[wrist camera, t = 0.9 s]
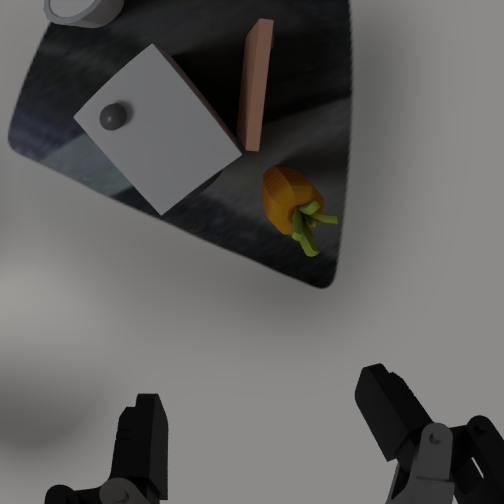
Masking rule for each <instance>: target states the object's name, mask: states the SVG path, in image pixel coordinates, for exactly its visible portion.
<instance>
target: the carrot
mask: <svg viewBox="0 0 504 504" xmlns="http://www.w3.org/2000/svg"><path fill="white" fill-rule="evenodd" d="M262 202H263V206H264V209H265V212H266V215H267V218H268V219H269V220H270V221H271V222H272V223H273V224H274V225H275V226H276V227H277V228H278V229H279V230H280V231H281V232H282V233H283V234H284V235H285V234H292V238H293V239H294V240H298V241H300V243H301V245H302V247H303V249H304V251H305V253H306V255H308V256H310V257H311V256H315V255H317V254H318V253H319V250H318V248H317V246H316V244H315V242H314V239H315V238H314V235H313V233H312V231H311V229H312V228H313V227H314V228H315V227H316V226H317V224H318V223H319V222H321V221H322V222H325V223H334V224H335V223H340V219H339V217H337V216H326V215H322V212H323V207H324V199H323V197H322V196H321V195H320V194H319V192H318V191H317V190H316V189H315V187H314V186H313V185H312V184H311V182H310V181H309V180H308V179H307V178H306V177H305V176H304V175H302V174H301V173H300V172H299V171H297V170H296V169H293V168H291V167H287V166H272V167H271V168H270V169H269V170H267V171H266V172H265V173H264V174H263V184H262Z"/></svg>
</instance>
